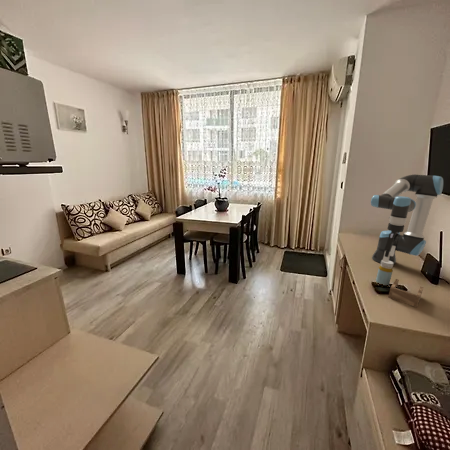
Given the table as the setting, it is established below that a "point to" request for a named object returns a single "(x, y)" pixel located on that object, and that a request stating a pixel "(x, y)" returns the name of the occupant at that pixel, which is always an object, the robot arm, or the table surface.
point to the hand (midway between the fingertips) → (388, 258)
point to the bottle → (384, 272)
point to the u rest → (404, 295)
